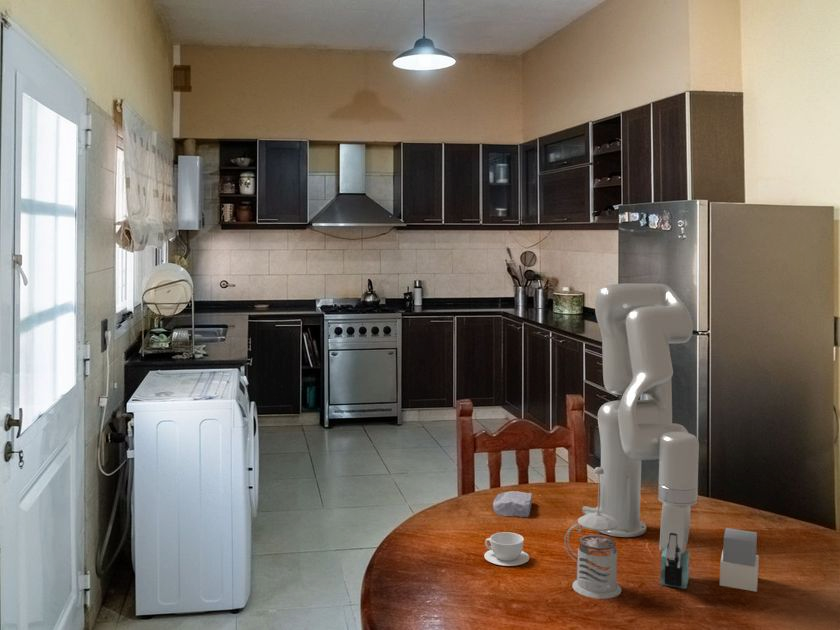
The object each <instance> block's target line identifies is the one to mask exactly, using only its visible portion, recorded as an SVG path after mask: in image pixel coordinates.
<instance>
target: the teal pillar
mask: <svg viewBox="0 0 840 630" xmlns="http://www.w3.org/2000/svg"><path fill="white" fill-rule="evenodd" d="M676 551H679V549H676ZM666 555H667V547H666V549H665V551H664V550H663V551H662V553H661V556H660V581H659V583H660V584H659V585H662V586H667V587H674V588H678V589H683V590H686V589H687V587H688V583H689V580H690V579H689V578H690V577H689V575H690V574H689V573H690V550H685V552H684V553H683V554H681V567H682V583H681V586H680V587H679V586H673V585H667V584H665V564H666ZM676 557H677V559H678V555H676Z"/></svg>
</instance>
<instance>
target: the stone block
mask: <svg viewBox="0 0 840 630" xmlns="http://www.w3.org/2000/svg"><path fill="white" fill-rule="evenodd" d="M532 504H533V493H532V492H530V493H529V492H523V491H522V492H521V491H517V490H513V491H512V490H510V491H504V492H501V493H498V494H497V496H495V498H494V500H493V502H492V505H493V506H492V507H493V511H494V513H495V514H496V516H498V515H503V516H502V517H505V516H521V517H520V518H529V517H530V513H531V509H532Z"/></svg>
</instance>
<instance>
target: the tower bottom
mask: <svg viewBox="0 0 840 630" xmlns="http://www.w3.org/2000/svg"><path fill="white" fill-rule="evenodd" d="M759 558H760V556H759V555H757V554H756V560H755V567H754V566H748V565H742V564H736V563H730V562H724V561H723V550H722V551H721V558H720V562H719V563H720V564H719V586H721V587H727V588H733V589H737V590H738V589H739V590H746V591H751V592H758V582H759V581H758V579H759V561H760V560H759Z"/></svg>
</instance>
